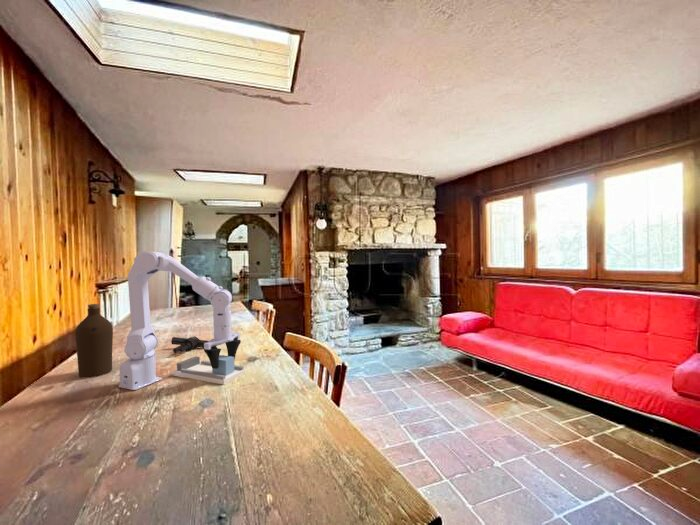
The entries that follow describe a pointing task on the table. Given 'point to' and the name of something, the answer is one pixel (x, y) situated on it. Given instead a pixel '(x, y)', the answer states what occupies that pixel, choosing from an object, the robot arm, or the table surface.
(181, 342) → the black forked piece
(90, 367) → the olive oil
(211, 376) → the rail board
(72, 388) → the table surface
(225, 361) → the block
